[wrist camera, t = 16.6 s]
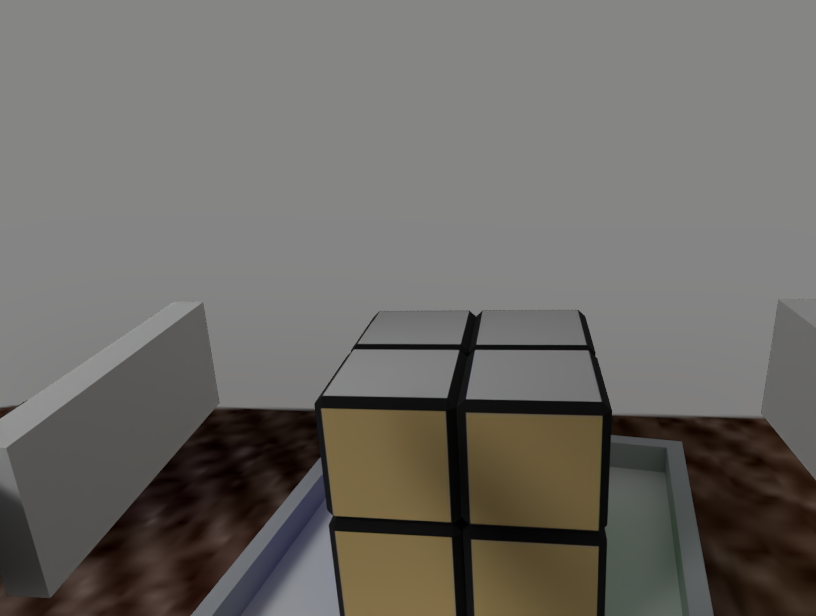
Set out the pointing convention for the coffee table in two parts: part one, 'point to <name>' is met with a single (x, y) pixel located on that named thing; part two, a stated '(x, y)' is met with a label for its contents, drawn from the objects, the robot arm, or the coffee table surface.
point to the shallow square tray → (626, 531)
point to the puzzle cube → (468, 466)
